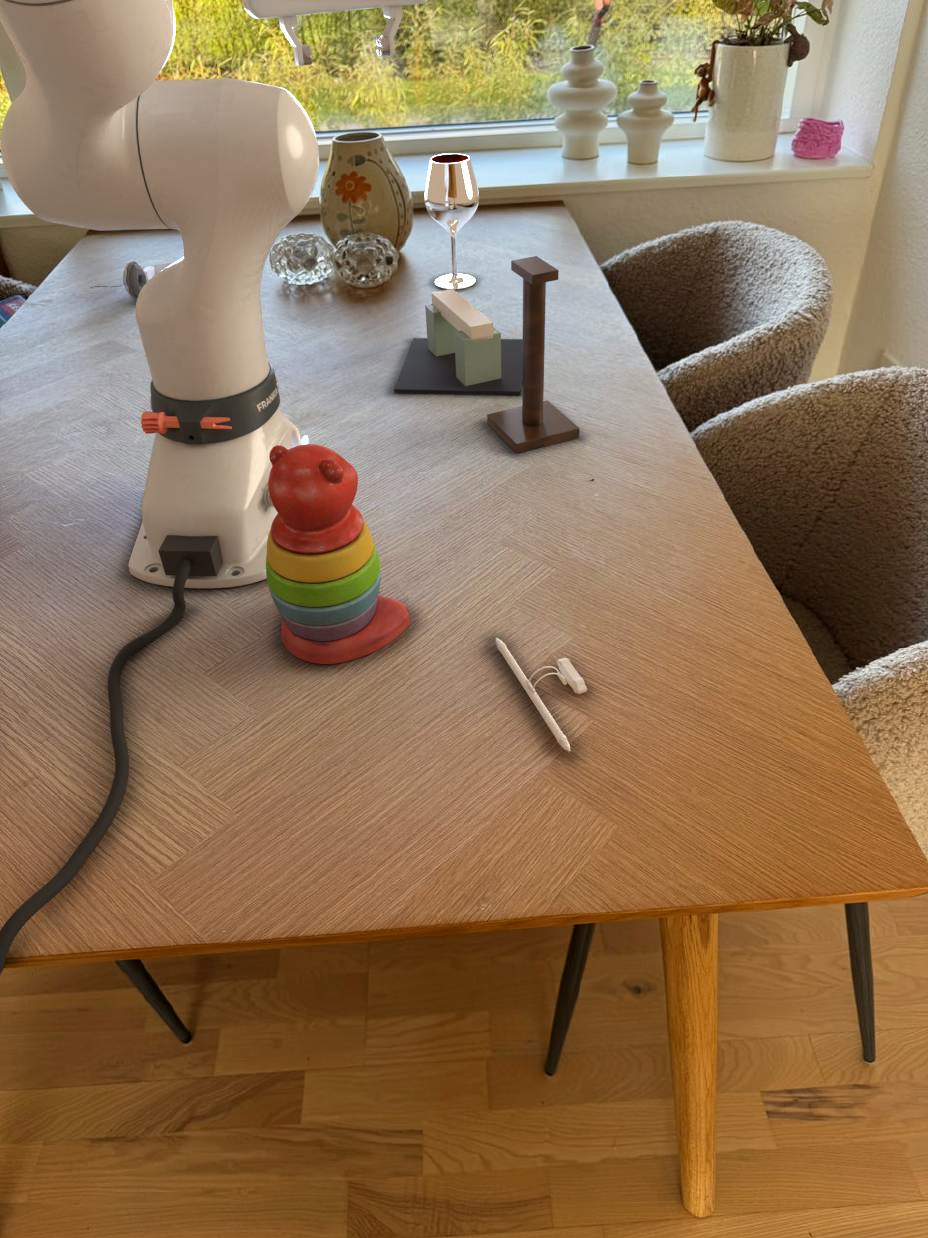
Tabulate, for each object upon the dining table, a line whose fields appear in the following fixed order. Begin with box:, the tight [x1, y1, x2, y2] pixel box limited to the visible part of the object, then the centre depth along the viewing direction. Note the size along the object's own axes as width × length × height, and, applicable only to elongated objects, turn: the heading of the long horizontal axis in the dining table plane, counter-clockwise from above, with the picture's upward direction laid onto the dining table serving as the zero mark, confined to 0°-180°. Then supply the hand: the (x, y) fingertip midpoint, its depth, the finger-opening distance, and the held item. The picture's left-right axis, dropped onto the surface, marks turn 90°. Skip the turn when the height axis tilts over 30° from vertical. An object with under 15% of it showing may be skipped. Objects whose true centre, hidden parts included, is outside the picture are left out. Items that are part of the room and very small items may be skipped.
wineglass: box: [423, 153, 480, 291], centre depth 140 cm, size 8×8×18 cm
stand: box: [486, 255, 581, 454], centre depth 101 cm, size 8×8×19 cm
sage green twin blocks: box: [424, 289, 502, 386], centre depth 119 cm, size 5×13×8 cm, turn 23°
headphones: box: [89, 260, 174, 301], centre depth 145 cm, size 17×6×20 cm
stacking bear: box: [266, 443, 411, 665], centre depth 75 cm, size 11×10×18 cm
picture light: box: [494, 637, 588, 753], centre depth 74 cm, size 14×4×2 cm, turn 21°
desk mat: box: [393, 337, 523, 396], centre depth 121 cm, size 16×16×1 cm
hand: (345, 59), depth 101 cm, fingers open, 8 cm apart
